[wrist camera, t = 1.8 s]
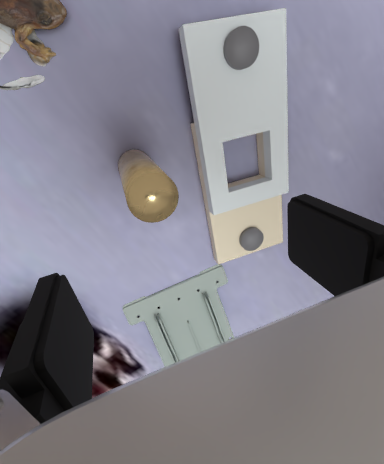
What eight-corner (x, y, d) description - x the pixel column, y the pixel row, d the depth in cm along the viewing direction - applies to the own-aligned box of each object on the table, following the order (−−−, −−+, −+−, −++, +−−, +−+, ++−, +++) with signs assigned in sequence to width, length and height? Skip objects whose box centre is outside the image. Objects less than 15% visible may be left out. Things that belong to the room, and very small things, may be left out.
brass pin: (146, 145, 28) (172, 166, 18) (155, 178, 30) (182, 214, 19) (113, 154, 27) (119, 180, 17) (123, 186, 29) (135, 228, 19)
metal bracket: (253, 347, 38) (158, 393, 36) (238, 327, 44) (155, 366, 42) (223, 260, 35) (117, 305, 33) (211, 250, 41) (120, 289, 39)
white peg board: (174, 33, 25) (185, 21, 21) (268, 18, 26) (291, 4, 23) (214, 259, 37) (225, 273, 33) (276, 237, 38) (293, 249, 35)
